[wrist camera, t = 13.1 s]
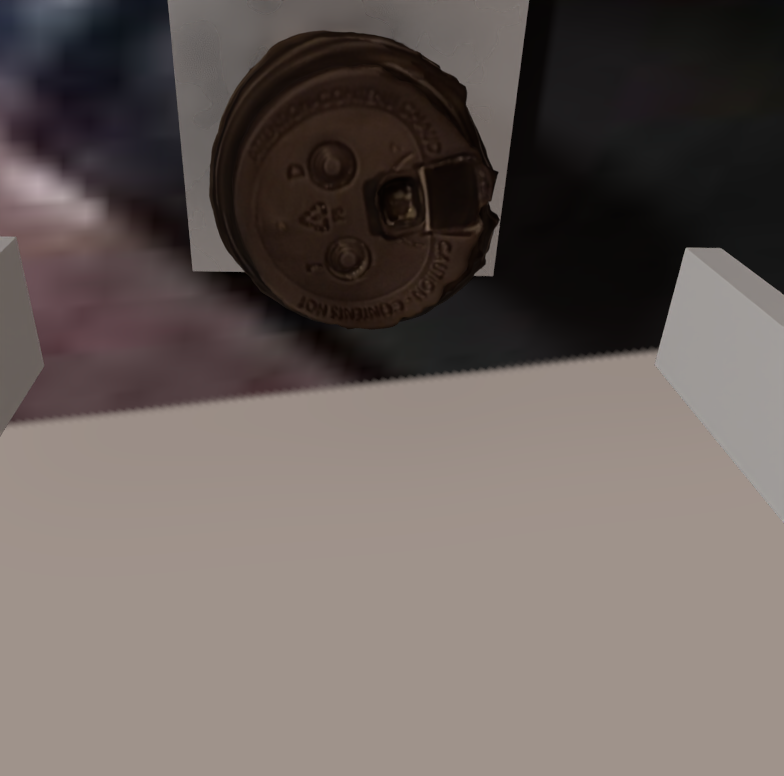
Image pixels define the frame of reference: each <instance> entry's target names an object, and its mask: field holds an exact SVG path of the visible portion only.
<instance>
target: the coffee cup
mask: <svg viewBox="0 0 784 776" xmlns="http://www.w3.org/2000/svg"><path fill="white" fill-rule="evenodd" d="M466 100H467V90H466V86H465V85H463V84H461V83H459V81H458V79H457V78H456V77H454V76H453V75H451V74H448V73H446V72H444V71H442V70H441V68H440V65H438V64H436V63H435V62H433V61H431V60H429V59H428V58H426V57H425V56H424V55H422V54H421V53H420V52H418V51H415V50H412V49H410V48H409V47H407V46H406V45H404V44H403V43H400V42H397V41H395V40H393V39H390V38H386V37H382V36H377V35H372V34H364V33H355V32H333V31H326V30H322V31H311V32H305V33H300V34H297V35H294V36H291V37H289V38H287V39H285V40H282V41H280V42H278V43H276V44H275V45H273V46H272V47H271V48H270V49H269V50H268V52H267V53H266V54H265V55H264V56H263V57H262V59H261V60H260V61H259V62H258V63H257V64H256V65H255V66H254V67H252V68H251V69H250V70H249V71H248V73H247V74H246V75H245V77H244V78H243V79H242V80H241V82H240V83H239V84H238V86H237V87H236V89H235V91H234V92H233V94H232V96H231V98H230V99H229V102H228V104H227V106H226V108H225V110H224V113H223V115H222V117H221V120H220V124H219V129H218V133H217V135H216V138H215V140H214V143H213V146H212V151H211V163H210V186H209V198H210V202H211V206H212V209H213V214H214V218H215V222H216V226H217V229H218V232H219V236H220V238H221V240H222V242H223V244H224V246H225V248H226V250H227V251H228V253H229V254H230V255H231V256H232V257H233V259H234V260H235V262H236V263H237V264H238V265H239V266H240V267H241V268H242V270H243V271H244V272H245V273H246V274H248V275H249V276H250V277H251V279H252V281H253V282H254V283H255V284H256V285H257V287H258V288H259V289H260V291H261V292H263V293H264V294H266V295H267V296H269V297H271V298H272V299H274V300H275V301H277V302H278V303H280V304H281V305H283V306H284V307H286V308H287V309H289V310H291V311H293V312H295V313H297V314H299V315H301V316H304V317H306V318H309V319H312V320H314V321H318V322H324V323H326V324H338V325H340V326H341V327H345V328H347V329H354V328H364V329H381V328H389V327H393V326H395V325H397V324H398V322H401V321H406V320H410V319H413V318H416V317H418V316H421V315H423V314H426V313H427V312H429V311H430V310H432V309H433V308H434V307H436V306H437V305H439V304H441V303H443V302H445V301H446V300H448V299H449V298H450V297H452V296H453V295H454V294H456V293H457V292H458V291H459V290H461V289H462V288H463V287H464V286H465V285H466V284H467V283H468V282H469V281H470V280H471V279H472V278H473V276H474V274H475V273H476V272H477V271H478V270H480V269H481V268H483V267H484V266H485V265H486V259H485V257H486V253H487V252H488V251H489V248H490V243H491V239H492V236H493V233H494V229H495V228H496V226H497V225H498V223H499V221H500V219H499V217H498V215H497V214H496V213H494V212H493V211H491V208H490V205H489V202H491V200H492V196H493V192H494V187H495V183H496V180H497V176H498V173H499V172H498V171H496V170H493V167H492V165H491V163H490V161H489V159H488V156H487V151H486V148H485V146H484V144H483V141H482V139H481V137H480V134H479V132H478V129H477V128H476V126H475V124H474V121H473V119H472V117H471V115H470V112H469V110H468V108H467V106H466Z"/></svg>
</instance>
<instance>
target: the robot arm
mask: <svg viewBox="0 0 784 776" xmlns="http://www.w3.org/2000/svg"><path fill="white" fill-rule="evenodd" d="M655 366H656V367H657V368H658V370H659V371H660V372H661V373H662V375H663V376H664V377H665V378H666V380H667V381H668V382H669V383H670V384H671V386H672V387H673V388H674V389H675V390H676V392H677V393H678V394H679V395H680V397H681V398H682V399H683V400H684V402H685V403H686V404H687V405H688V406H689V408H690V409H691V410H692V411H693V413H694V414H695V415H696V416H697V418H698V419H699V420H700V421H701V422H702V424H703V425H704V426H705V427H706V429H707V430H708V431H709V432H710V433H711V435H712V436H713V437H714V438H715V440H716V441H717V442H718V443H719V444H720V446H721V447H722V448H723V449H724V451H725V452H726V453H727V454H728V455H729V457H730V458H731V459H732V460H733V462H734V463H735V464H736V465H737V466H738V468H739V469H740V470H741V471H742V473H743V474H744V475H745V476H746V478H747V479H748V480H749V481H750V483H751V484H752V485H753V486H754V487H755V489H756V490H757V491H758V492H759V494H760V495H761V496H762V497H763V498H764V500H765V501H766V502H767V503H768V505H769V506H770V507H771V508H772V509H773V511H774V512H775V513H776V514H777V516H778V517H779V518H780V519H781V521H782V522H783V523H784V295H783V294H782V293H780V292H779V291H778V290H776V289H775V288H774V287H772V286H771V285H770V284H768V283H767V282H766V281H764V280H763V279H762V278H760V277H759V276H758V275H756V274H755V273H754V272H752V271H751V270H749V269H748V268H747V267H745V266H744V265H743V264H741V263H740V262H739V261H737V260H736V259H735V258H733V257H732V256H731V255H729V254H728V253H727V252H725V251H724V250H723V249H721V248H686V249H685V253H684V256H683V260H682V264H681V268H680V271H679V275H678V279H677V283H676V286H675V290H674V294H673V298H672V301H671V305H670V309H669V313H668V316H667V320H666V324H665V328H664V331H663V335H662V339H661V342H660V346H659V350H658V354H657V357H656V361H655ZM43 367H44V363H43V358H42V354H41V349H40V344H39V340H38V335H37V331H36V326H35V321H34V317H33V312H32V308H31V303H30V298H29V294H28V289H27V285H26V280H25V275H24V271H23V266H22V262H21V257H20V252H19V248H18V243H17V239H16V237H0V436H1V434H2V432H3V431H4V430H5V428H6V426H7V425H8V423H9V422H10V420H11V418H12V417H13V415H14V414H15V412H16V410H17V409H18V407H19V405H20V404H21V402H22V401H23V399H24V397H25V396H26V394H27V393H28V391H29V389H30V388H31V386H32V385H33V383H34V381H35V380H36V378H37V377H38V375H39V373H40V372H41V370H42V369H43Z"/></svg>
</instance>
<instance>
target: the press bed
mask: <svg viewBox="0 0 784 776" xmlns="http://www.w3.org/2000/svg"><path fill="white" fill-rule="evenodd" d="M528 4H529V0H168V7H169V18H170V29H171V39H172V50H173V61H174V72H175V83H176V94H177V104H178V115H179V126H180V137H181V148H182V158H183V169H184V180H185V191H186V202H187V212H188V223H189V234H190V245H191V256H192V267H193V271H222V272H244V271H243V270H242V268H241V267H240V266H239V265H238V264H237V263H236V262H235V260H234V259H233V257H232V256H231V255H230V254H229V253H228V251H227V250H226V248H225V246H224V244H223V242H222V240H221V238H220V236H219V232H218V229H217V226H216V222H215V218H214V214H213V209H212V206H211V202H210V198H209V186H210V163H211V151H212V146H213V143H214V140H215V138H216V135H217V133H218V129H219V124H220V120H221V117H222V115H223V113H224V110H225V108H226V106H227V104H228V102H229V99H230V98H231V96H232V94H233V92H234V91H235V89H236V87H237V86H238V84H239V83H240V82H241V80H242V79H243V78H244V77H245V75H246V74H247V73H248V71H249V70H250V69H251V68H252V67H254V66H255V65H256V64H257V63H258V62H259V61H260V60H261V59H262V57H263V56H264V55H265V54H266V53H267V52H268V50H269V49H270V48H271V47H272V46H273V45H275V44H276V43H278V42H280V41H282V40H285V39H287V38H289V37H291V36H294V35H297V34H300V33H305V32H311V31H322V30H326V31H333V32H355V33H364V34H372V35H377V36H382V37H386V38H390V39H393V40H395V41H397V42H400V43H403V44H404V45H406V46H407V47H409V48H410V49H412V50H415V51H418V52H420V53H421V54H422V55H424V56H425V57H426V58H428V59H429V60H431V61H433V62H435V63H436V64H438V65H440V68H441V70H442V71H444V72H446V73H448V74H451V75H453V76H454V77H456V78H457V79H458V81H459V83H461V84H463V85H465V86H466V90H467V100H466V106H467V108H468V110H469V112H470V115H471V117H472V119H473V121H474V124H475V126H476V128H477V129H478V132H479V134H480V137H481V139H482V141H483V144H484V146H485V148H486V151H487V156H488V159H489V161H490V163H491V165H492V167H493V170H496V171H498V172H499V173H498V176H497V180H496V183H495V187H494V192H493V196H492V200H491V202H489V205H490V208H491V211H493V212H494V213H496V214H497V215H498V217H499V219H501V212H502V204H503V196H504V189H505V181H506V173H507V166H508V158H509V150H510V143H511V135H512V127H513V120H514V112H515V104H516V97H517V89H518V81H519V74H520V66H521V58H522V51H523V43H524V35H525V28H526V20H527V12H528ZM499 227H500V221H499V223H498V225H497V226H496V228H495V229H494V233H493V236H492V239H491V243H490V248H489V251H488V252H487V253H486V257H485V259H486V265H485V266H484V267H483V268H481V269H480V270H478V271H477V272H476V273H475V274H474V276H493V273H494V266H495V258H496V250H497V243H498V235H499Z"/></svg>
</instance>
